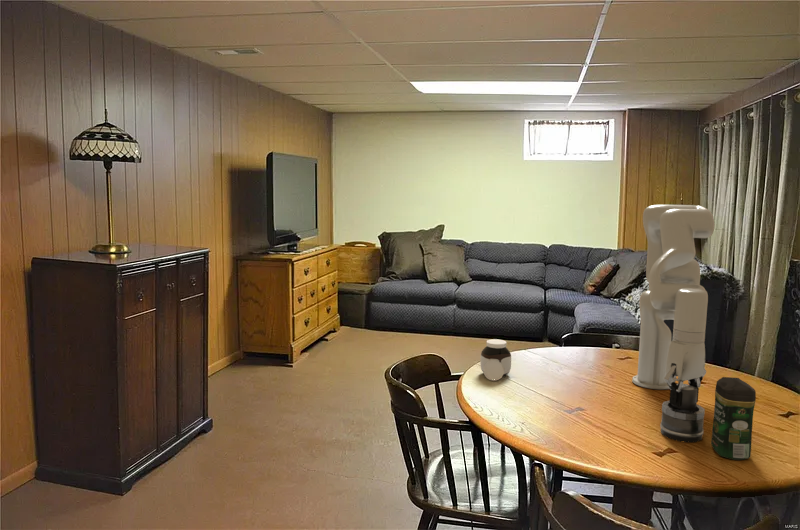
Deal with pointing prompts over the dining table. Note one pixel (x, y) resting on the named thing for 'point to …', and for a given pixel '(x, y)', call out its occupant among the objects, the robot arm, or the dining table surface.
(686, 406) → the dark grey short cylinder
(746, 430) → the coffee jar
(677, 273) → the robot arm
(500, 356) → the spread jar
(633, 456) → the dining table surface
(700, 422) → the lens barrel
